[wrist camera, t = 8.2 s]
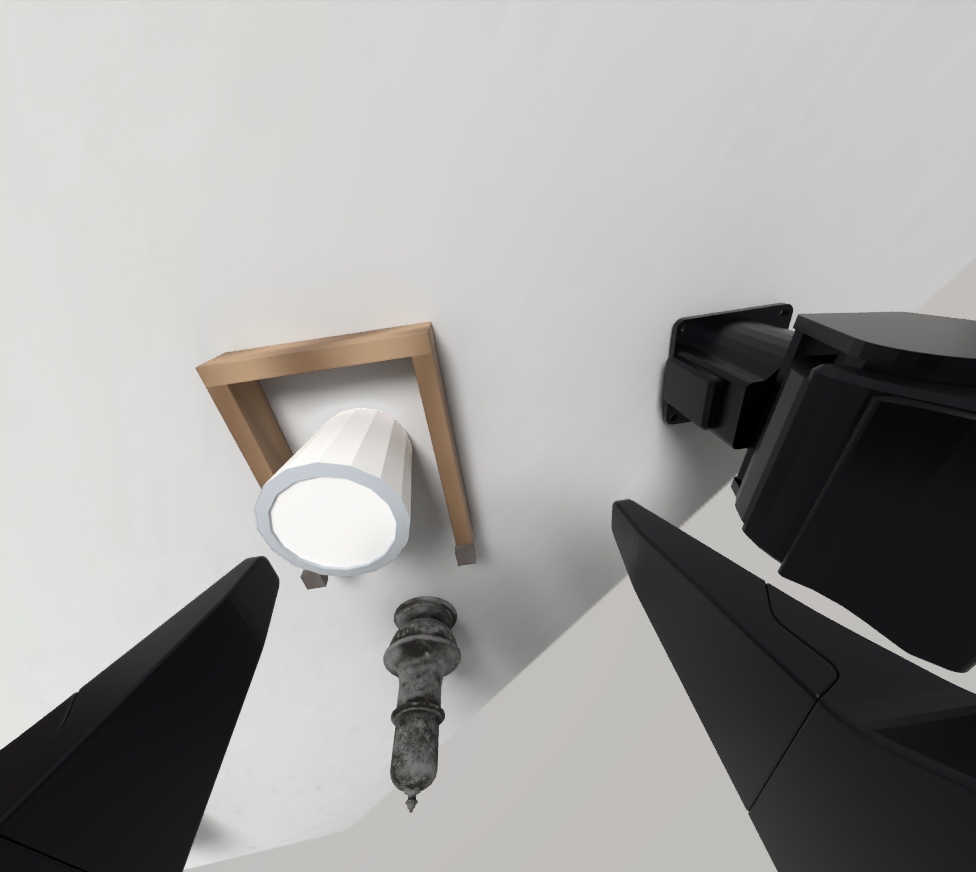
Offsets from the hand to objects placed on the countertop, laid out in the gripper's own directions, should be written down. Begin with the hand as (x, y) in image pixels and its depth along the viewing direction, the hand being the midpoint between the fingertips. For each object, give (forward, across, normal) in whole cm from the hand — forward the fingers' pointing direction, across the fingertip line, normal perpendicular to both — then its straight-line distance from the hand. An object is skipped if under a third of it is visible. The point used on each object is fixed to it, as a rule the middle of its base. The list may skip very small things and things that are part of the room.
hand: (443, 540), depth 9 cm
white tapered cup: (+13, +6, +4) cm, 15 cm away
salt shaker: (+13, +6, +21) cm, 25 cm away
